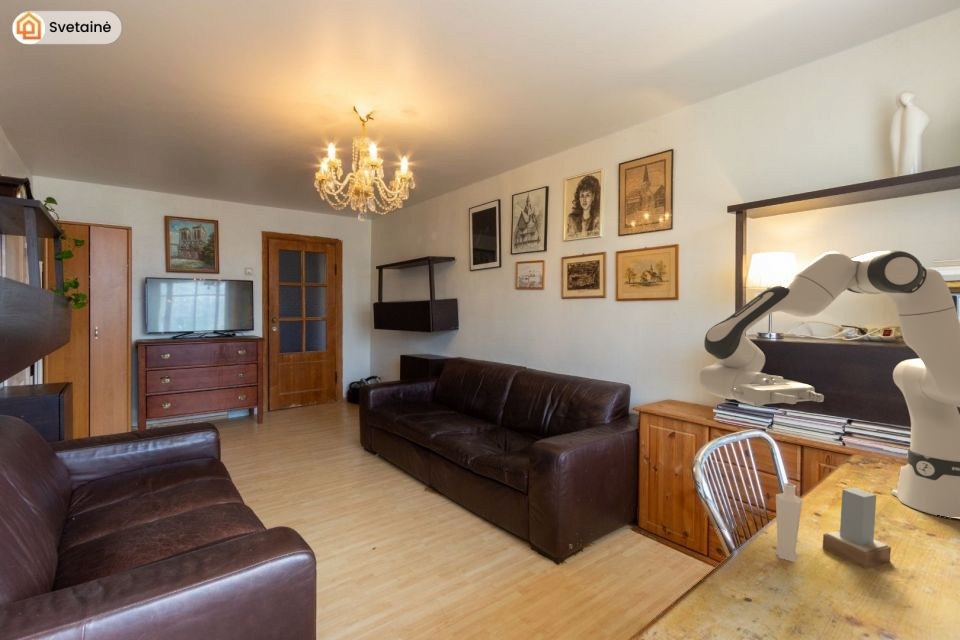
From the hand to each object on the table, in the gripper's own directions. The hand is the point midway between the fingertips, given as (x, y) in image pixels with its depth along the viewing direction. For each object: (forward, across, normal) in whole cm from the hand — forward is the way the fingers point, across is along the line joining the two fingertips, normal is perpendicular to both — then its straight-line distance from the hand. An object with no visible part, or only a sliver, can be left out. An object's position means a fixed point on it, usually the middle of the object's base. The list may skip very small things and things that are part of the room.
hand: (808, 399), depth 107 cm
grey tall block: (+13, -3, +27) cm, 30 cm away
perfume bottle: (+9, -18, +30) cm, 36 cm away
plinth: (+13, -3, +30) cm, 33 cm away
